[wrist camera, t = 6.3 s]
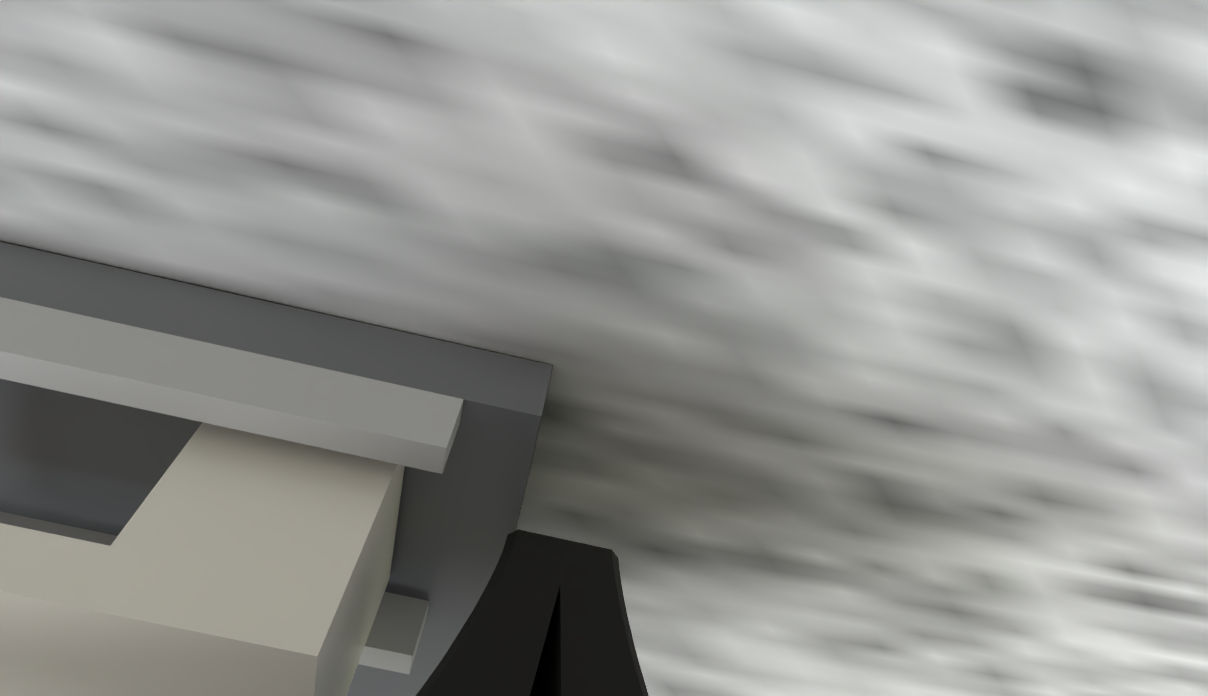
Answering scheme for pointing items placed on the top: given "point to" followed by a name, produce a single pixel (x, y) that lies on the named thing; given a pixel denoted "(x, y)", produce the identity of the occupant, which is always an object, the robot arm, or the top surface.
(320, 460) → the latch
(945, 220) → the top surface
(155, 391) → the mount board
